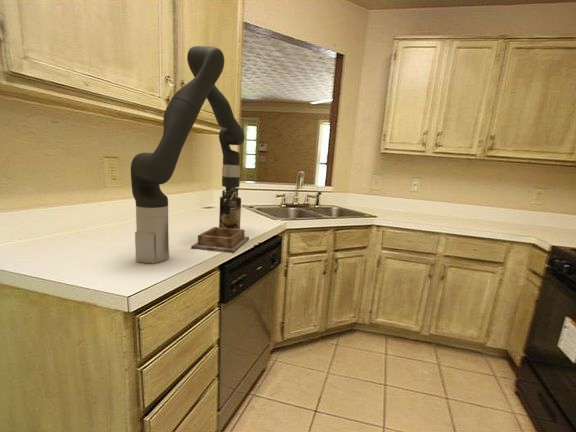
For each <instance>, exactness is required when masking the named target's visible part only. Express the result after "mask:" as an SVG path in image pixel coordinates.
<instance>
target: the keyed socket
mask: <svg viewBox="0 0 576 432" xmlns="http://www.w3.org/2000/svg"><path fill="white" fill-rule="evenodd" d="M249 240H250V236H245V229H242V228H240V229H231V228H220V227H219V226H214V227H211V228H210V229H208V230H206V231H204V232H202V233H200V234H198V235H197V242H195V243H194V244H192V245H191V246H190V247H191V248H190V249H192V250H198V251H199V250H201V251H210V252H211V251H212V252H219V253H229V254H234V253H235V252H236V251H237V252H238V250H239V249H240V248H241V247H242V246H244V245H245V244H246V243H247V242H249Z"/></svg>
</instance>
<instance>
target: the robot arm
mask: <svg viewBox="0 0 576 432" xmlns="http://www.w3.org/2000/svg"><path fill="white" fill-rule="evenodd" d="M186 59H187V60H186V61H187V64H188V65H187V66H188V68H189V70H190V72H191V73H192V75H193V77H194V78H193V79H191V80H190V81H189V82H187V83H186V84H185V85H183V86H182V87H181V88H179V89H178V90H177V91H176V92H175V93H174V94H173V96H172V97H171V98H170V100H169V102H168V104H167V106H166V107H165V108H166V109H165V111H164V113H163V122H162V123H163V132H162V137H161V139H160V141H159V143H158V145H157V147H156V148H155V150H154V151H153V152H140V153H138V154H136V155H135V156H134V157H133V158H132V161H131V163H130V181H131V193H132V196H133V198H134V201H135V222H136V223H135V224H136V226H135V227H136V231H135V232H134V244H135V262H136V263H144V264H151V265H153V264H156V263H162V262H165V261H167V260H169V258H170V247H169V242H170V241H169V240H170V239H169V238H170V237H169V198H168V196H167V195H166V194H165V193H164V192H163V191H162V190H161V187H160V185H164V184H166V183H168V182H169V181H170V179H172V176H173V174H174V172H175V170H176V166H177V163H178V160H179V157H180V155H181V152H182V150H183V147H184V145H185V143H186V141H187V138H188V136H189V134H190V132H191V130H192V128H193V127H194V125H195V123H196V120H197V119H198V116H199V114H200V112H201V109H202V107H203V105H204V103H205V102H206V100H207V101H208V103H209V105H210V108H211V109H212V112H213V115H214V117H215V120H216V122H217V125H218V126H219V128H221V129H220V131H219V132H218V140H219V144H220V148H221V153H222V169H221V173H222V174H221V186H222V187H224V188H225V190H224V189H223V190H222V191H221V192H222V193H221V197H222V205H224V214H230V202H231V201H232V199H233V198H234V197H235V198H237V197H239V187H240V184H241V183H240V182H241V181H240V179H241V178H240V177H241V176H240V174H241V169H240V168H241V167H240V158H241V157H240V152H239V151H236V150H233V149H232V148H231V146H241V145H242V144H244V141H245V133H244V131H243V128H242V127H241V126H240V124H239V122H238V120H237V119H236V118H235V116H234V115H235V114H234V113H233V109H232V107H231V105H230V102H229V100H228V99H227V98H226V97H225V95H224V94H223V93H222V92H221V91H220V90H219V89H218V87H217V86H216V83H217V81H218V80H219V78H220V76H221V74H223V70H224V67H225V56H224V53H223V51H222V49H220V48H218V47H216V46H209V45H208V46H205V45H202V46H201V45H194V46H192V47H190V48H189V50H188V51H187V57H186ZM229 198H230V199H229ZM226 200H227V202H226Z"/></svg>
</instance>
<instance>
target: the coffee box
mask: <svg viewBox="0 0 576 432" xmlns="http://www.w3.org/2000/svg"><path fill="white" fill-rule="evenodd" d="M229 199H230V198H229ZM226 202H227V200H226ZM218 212H219V219H218V220H219V221H218V227H220V228H231V229H241V215H242V198H241V197H239V196H238V197H237V198H235V196H234V198H233V199H232V201H231V202H230V214H224V205H222V196H219V211H218Z"/></svg>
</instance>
